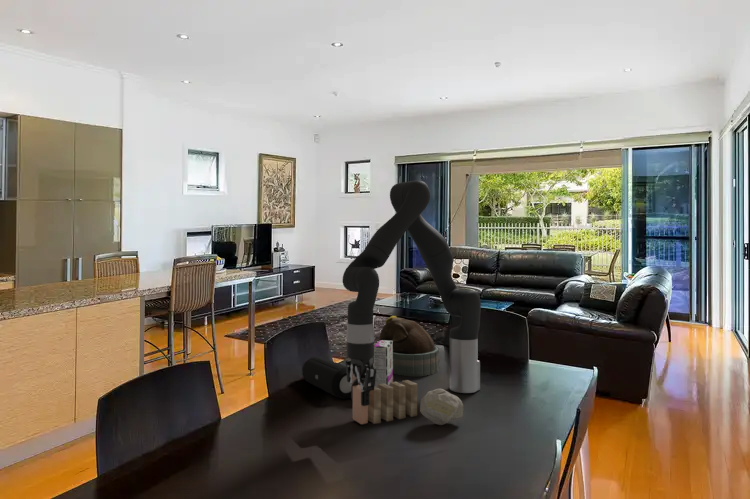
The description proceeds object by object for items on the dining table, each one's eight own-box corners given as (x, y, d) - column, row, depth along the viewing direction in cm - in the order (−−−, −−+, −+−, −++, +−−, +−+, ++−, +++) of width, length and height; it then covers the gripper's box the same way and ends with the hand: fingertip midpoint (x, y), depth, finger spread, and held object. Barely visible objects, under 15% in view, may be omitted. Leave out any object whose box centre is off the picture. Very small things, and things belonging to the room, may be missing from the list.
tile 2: (395, 412, 141) (396, 381, 141) (405, 417, 137) (405, 385, 137) (390, 413, 140) (390, 382, 140) (399, 419, 136) (399, 386, 136)
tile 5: (359, 417, 135) (359, 385, 135) (367, 423, 131) (367, 389, 131) (352, 418, 134) (352, 385, 134) (360, 424, 130) (361, 390, 130)
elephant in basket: (372, 367, 197) (372, 313, 197) (432, 366, 200) (432, 312, 200) (378, 382, 174) (378, 321, 174) (446, 380, 177) (447, 320, 177)
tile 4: (371, 417, 137) (371, 385, 137) (380, 422, 133) (380, 389, 133) (365, 418, 136) (365, 386, 136) (374, 423, 132) (374, 390, 132)
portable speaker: (299, 385, 171) (299, 356, 171) (324, 381, 176) (324, 353, 176) (335, 403, 150) (335, 371, 150) (362, 398, 155) (362, 367, 155)
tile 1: (407, 410, 143) (407, 379, 143) (417, 415, 139) (417, 383, 139) (401, 411, 142) (401, 380, 142) (411, 416, 138) (411, 384, 138)
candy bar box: (379, 387, 167) (379, 339, 168) (393, 388, 166) (393, 340, 166) (372, 397, 156) (372, 345, 157) (387, 398, 155) (387, 346, 156)
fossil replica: (458, 419, 135) (458, 383, 135) (469, 430, 127) (469, 391, 127) (416, 421, 133) (416, 385, 133) (424, 432, 125) (425, 394, 125)
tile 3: (384, 414, 139) (384, 383, 139) (393, 420, 135) (393, 387, 135) (377, 416, 138) (378, 384, 138) (386, 421, 134) (386, 388, 134)
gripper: (385, 342, 128) (385, 407, 128) (360, 334, 141) (360, 393, 141) (360, 345, 125) (360, 412, 124) (336, 337, 137) (336, 397, 137)
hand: (360, 402), depth 133 cm, fingers open, 5 cm apart
